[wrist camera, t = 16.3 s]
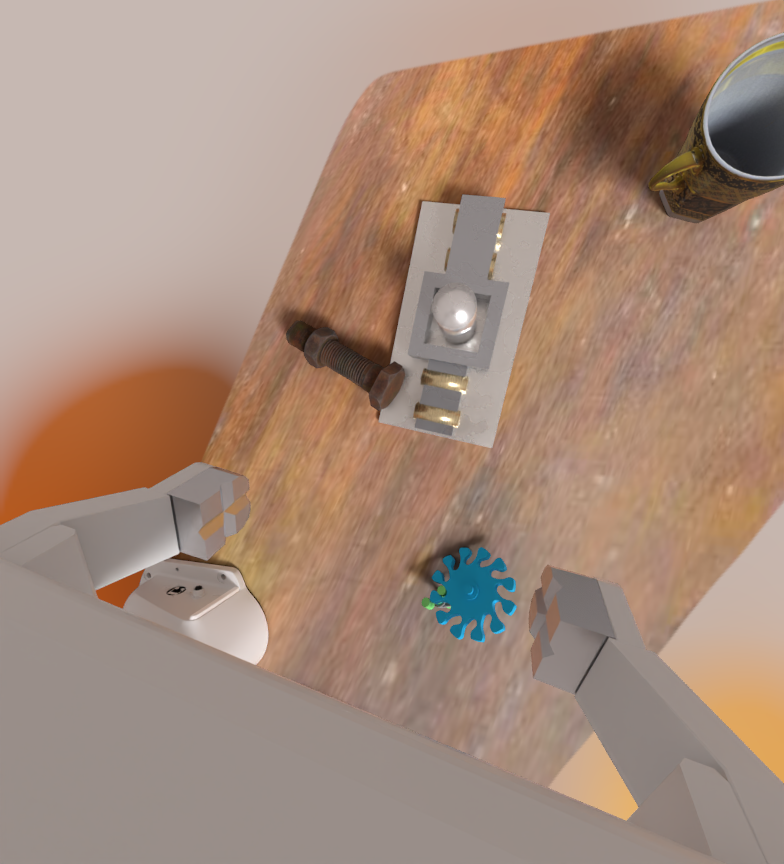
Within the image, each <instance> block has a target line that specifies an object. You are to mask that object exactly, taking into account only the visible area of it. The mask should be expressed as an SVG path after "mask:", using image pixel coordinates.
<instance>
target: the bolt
mask: <svg viewBox="0 0 784 864" xmlns="http://www.w3.org/2000/svg"><path fill="white" fill-rule="evenodd" d="M286 338H287V340H288V343H289V344H291V345H293V346H294V347H296V348H298V349H299V350H301V351H303V352H304V356H305V358H306V360H307V361H308V363H309V364H310V365H312V366H314V367H315V368H321V367H324V366H327V367H329V368H331V369H332V370H334V371H336V372H338V373H339V374H340V375H342V376H344V377H346V378H347V379H349V380H351V381H352V382H354V383H356V384H357V385H358V386H360V387H362V388H363V389H364V390H365V391H367V392H368V393H369V399H370V404H371V406H372V407H374V408H375V409H377V410H382V409H384V408H386V407H388V406H389V405H390V403H391V402H392V401H393V400H394V398H395V397H396V396H397V394H398V393H399V391H400V389H401V386H402V384H403V381H404V378H405V371H404V368H403V366H402V365H400V364H398V363H397V362H395V361H394V362H393V363H391V364H390V365H388V366H387V367H385V368H384V367H382V366H380V365H378V364H375V363H373V362H372V361H369V360H368V359H367V358H365V357H363V356H362V355H360V354H358V353H356V352H355V351H353V350H351V349H349V348H348V347H346V346H344V345H342V344H340V343H339V339H338V337H337V335H336V333H335V331H333V330H331V329H330V328H328V327H323V328H319V329H317V330H316V329H315V328H313V327H311V326H309V325H308V324H306V323H304V322H302V321H295V322H294V324H293V325H292V326H291V327H290V329H289V330H288V331H287V333H286Z"/></svg>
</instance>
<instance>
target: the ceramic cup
mask: <svg viewBox="0 0 784 864" xmlns="http://www.w3.org/2000/svg"><path fill="white" fill-rule="evenodd" d="M664 179H665V181H664V182H661V181H663V180H664ZM783 185H784V33H780V34H777V35H774V36H772V37H770V38H767V39H765V40H763V41H761V42H759V43H757V44H755V45H754V46H752V47H750V48H749V49H748V50H746V51H745V52H743V53H742V54H741V55H739V56H738V57H737V58H736V59H735V60H734V61H733V62H732V63H731V64H730V65H729V66H728V67H727V68H726V69H725V70H724V71H723V73H722V74H721V75H720V76H719V78H718V79H717V81H716V82H715V84H714V85H713V87H712V89H711V90H710V92H709V94H708V96H707V97H706V99H705V101H704V102H703V104H702V106H701V108H700V110H699V112H698V114H697V116H696V118H695V120H694V122H693V124H692V127H691V129H690V131H689V134H688V136H687V139H686V141H685V143H684V145H683V147H682V149H681V150H680V152H679V154H678V155H677V157H676V158H675V159H674V160H672V161H671V162H670V163H668V164H667V165H666V166H664V167H663V168H662V169H661V170H660V171H659V172H658V173H657V174H656V175H655V176H654V177H653V178H652V179H651V180H650V182H649V185H648V186H649V189H650V190H651V191H658V190H660V194H659V195H660V198H661V200H662V203H663V205H664V207H665V210H666V212H667V215H668V216H670V217H674V218H677V219H681V220H685V221H688V222H692V223H699V222H702V221H704V220H706V219H708V218H711V217H713V216H715V215H717V214H719V213H721V212H724V211H726V210H728V209H730V208H732V207H734V206H736V205H738V204H740V203H742V202H744V201H746V200H748V199H751V198H754V197H757V196H759V195H762V194H765V193H767V192H769V191H772V190H774V189H776V188H778V187H781V186H783Z"/></svg>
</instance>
